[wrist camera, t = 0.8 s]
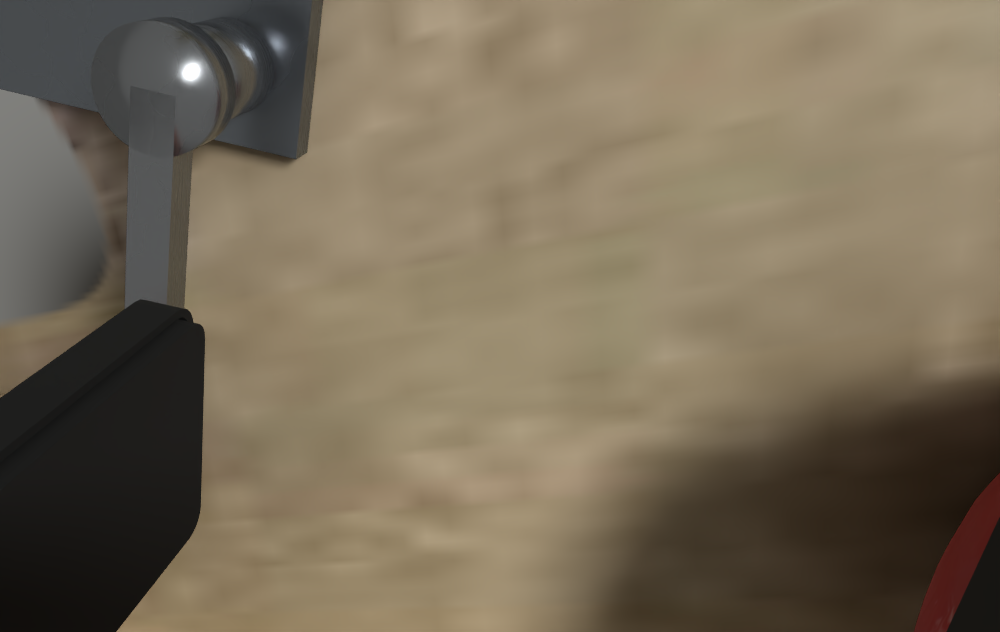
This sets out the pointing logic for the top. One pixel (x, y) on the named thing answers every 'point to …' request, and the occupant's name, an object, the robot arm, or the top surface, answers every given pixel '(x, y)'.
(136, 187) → the lever
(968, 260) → the top surface
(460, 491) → the top surface
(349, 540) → the top surface
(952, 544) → the mixing bowl
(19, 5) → the bed
